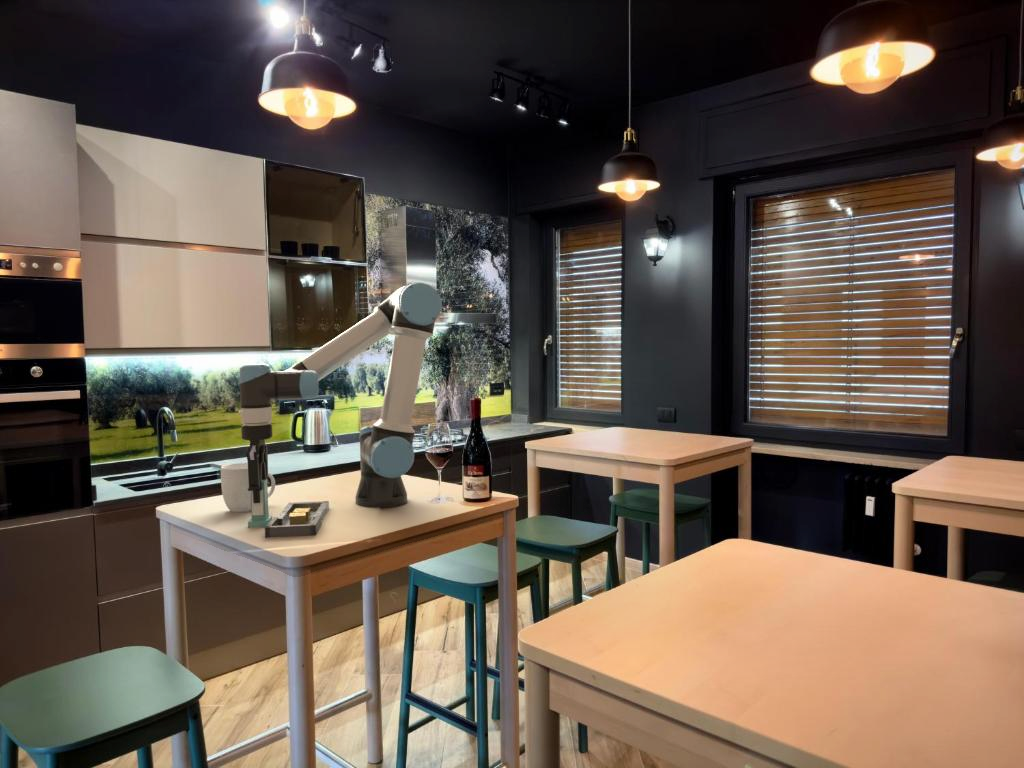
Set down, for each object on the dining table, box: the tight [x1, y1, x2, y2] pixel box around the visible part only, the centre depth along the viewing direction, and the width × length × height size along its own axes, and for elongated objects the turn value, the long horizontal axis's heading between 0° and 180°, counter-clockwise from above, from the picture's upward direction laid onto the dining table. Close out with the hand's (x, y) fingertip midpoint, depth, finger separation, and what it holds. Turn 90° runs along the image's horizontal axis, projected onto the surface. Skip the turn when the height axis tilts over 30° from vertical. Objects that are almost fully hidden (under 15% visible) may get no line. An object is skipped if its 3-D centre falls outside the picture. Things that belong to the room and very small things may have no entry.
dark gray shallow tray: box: [277, 500, 330, 526], centre depth 187 cm, size 11×18×2 cm, turn 7°
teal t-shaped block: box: [247, 479, 273, 529], centre depth 180 cm, size 5×5×12 cm
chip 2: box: [293, 508, 311, 521], centre depth 185 cm, size 4×4×2 cm
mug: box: [220, 461, 276, 513], centre depth 198 cm, size 15×11×13 cm
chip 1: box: [289, 512, 306, 525], centre depth 180 cm, size 4×4×2 cm
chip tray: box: [264, 515, 323, 539], centre depth 173 cm, size 12×10×3 cm
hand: (259, 512), depth 180 cm, fingers closed on teal t-shaped block, 3 cm apart
